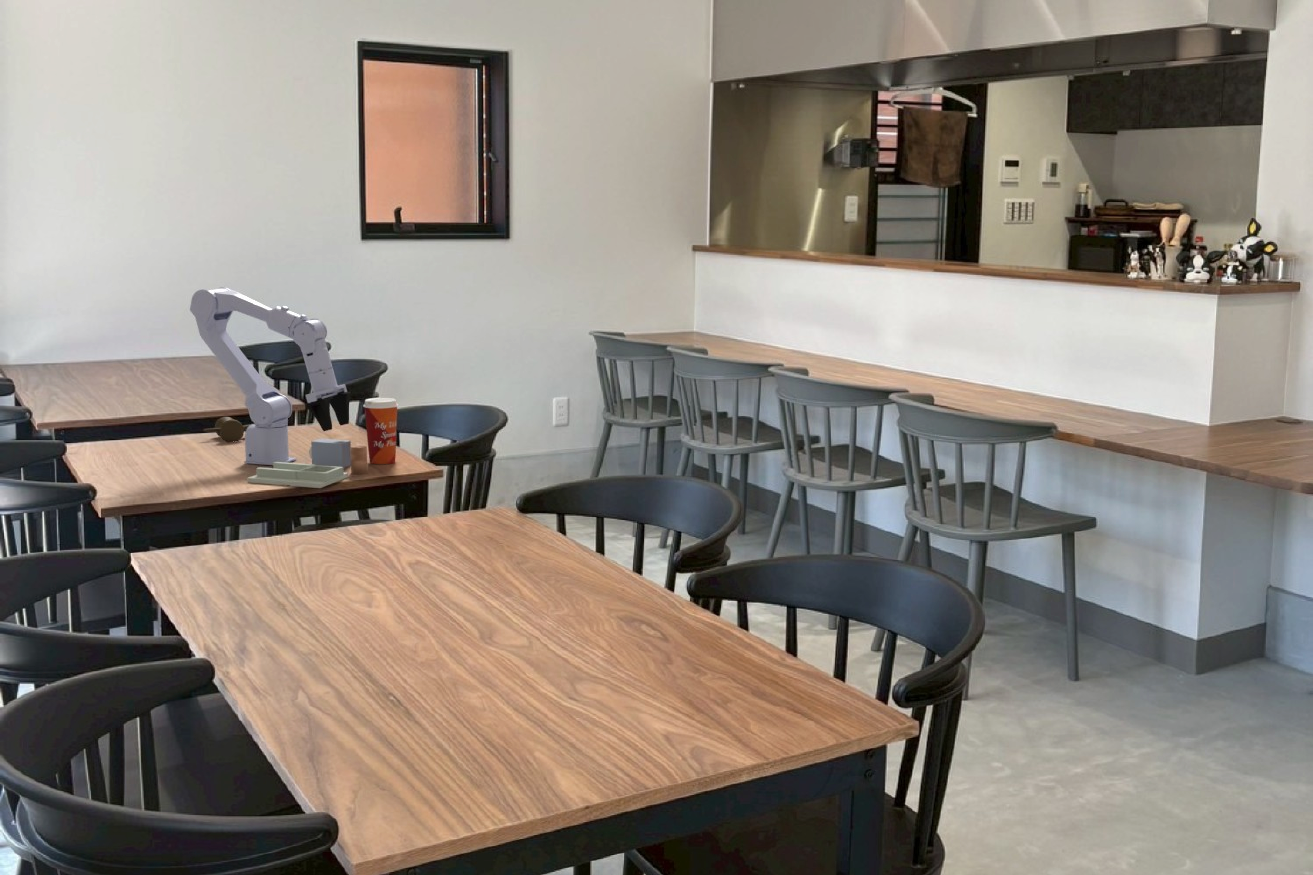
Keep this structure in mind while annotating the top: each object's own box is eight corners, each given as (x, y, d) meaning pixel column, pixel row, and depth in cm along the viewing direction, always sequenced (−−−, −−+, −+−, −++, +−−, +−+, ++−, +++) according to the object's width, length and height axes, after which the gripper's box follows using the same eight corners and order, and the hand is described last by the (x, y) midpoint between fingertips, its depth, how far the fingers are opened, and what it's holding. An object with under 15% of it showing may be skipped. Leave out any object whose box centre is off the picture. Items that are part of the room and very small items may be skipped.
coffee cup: (380, 466, 300) (378, 403, 297) (357, 462, 305) (355, 400, 302) (407, 461, 307) (406, 399, 304) (384, 457, 312) (383, 396, 309)
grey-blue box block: (308, 466, 300) (307, 441, 299) (317, 463, 304) (316, 438, 303) (342, 469, 298) (341, 443, 297) (351, 465, 302) (350, 440, 300)
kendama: (286, 440, 335) (206, 444, 326) (278, 435, 344) (200, 439, 334) (286, 417, 334) (206, 421, 325) (277, 413, 343) (199, 416, 333)
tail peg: (348, 473, 292) (347, 448, 291) (356, 470, 295) (355, 445, 294) (362, 474, 291) (361, 449, 290) (370, 471, 294) (369, 446, 293)
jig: (247, 482, 282) (246, 469, 282) (278, 471, 293) (277, 459, 293) (320, 488, 277) (320, 475, 277) (349, 477, 289) (348, 465, 288)
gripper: (318, 371, 289) (334, 429, 290) (351, 363, 303) (366, 418, 304) (292, 378, 291) (308, 435, 293) (325, 369, 305) (341, 424, 306)
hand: (336, 427), depth 299 cm, fingers open, 7 cm apart
